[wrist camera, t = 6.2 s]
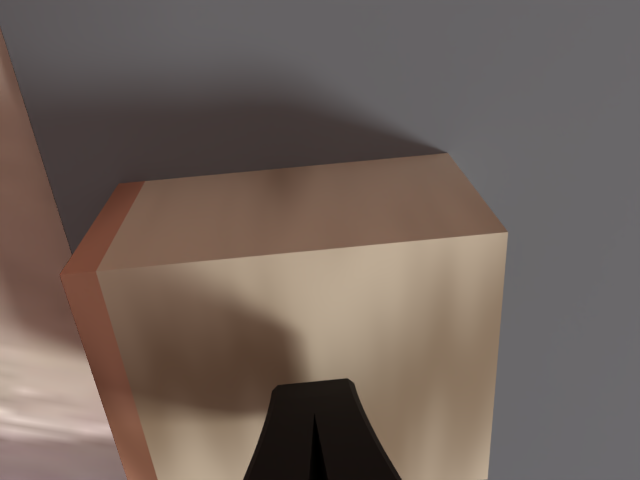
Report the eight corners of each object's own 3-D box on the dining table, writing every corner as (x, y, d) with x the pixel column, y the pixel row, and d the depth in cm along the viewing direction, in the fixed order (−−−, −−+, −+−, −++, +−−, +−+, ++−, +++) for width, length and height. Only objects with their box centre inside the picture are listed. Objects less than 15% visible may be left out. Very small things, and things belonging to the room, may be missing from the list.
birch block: (487, 479, 13) (139, 515, 12) (442, 360, 16) (170, 386, 16) (507, 232, 10) (59, 274, 10) (447, 153, 13) (119, 183, 13)
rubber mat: (646, 475, 19) (651, 483, 19) (161, 525, 19) (159, 534, 19) (823, -193, 11) (836, -196, 11) (-38, -120, 11) (-47, -122, 10)
